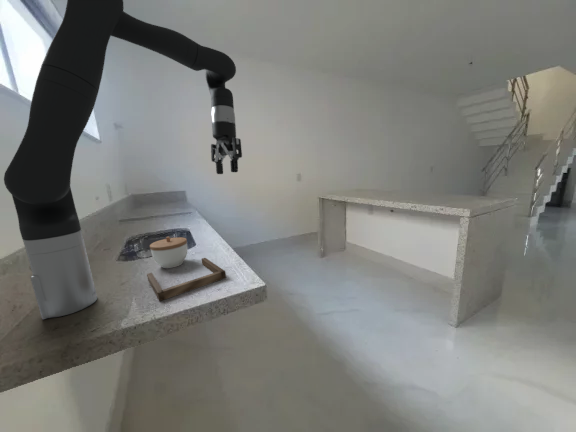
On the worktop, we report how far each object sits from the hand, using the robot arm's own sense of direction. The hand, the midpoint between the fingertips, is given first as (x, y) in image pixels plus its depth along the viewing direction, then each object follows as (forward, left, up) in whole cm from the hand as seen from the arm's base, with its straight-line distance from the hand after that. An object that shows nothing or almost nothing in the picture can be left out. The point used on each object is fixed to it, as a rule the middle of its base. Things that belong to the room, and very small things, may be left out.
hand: (227, 173), depth 80 cm
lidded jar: (-20, +6, -28) cm, 35 cm away
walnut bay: (-20, -9, -28) cm, 36 cm away
